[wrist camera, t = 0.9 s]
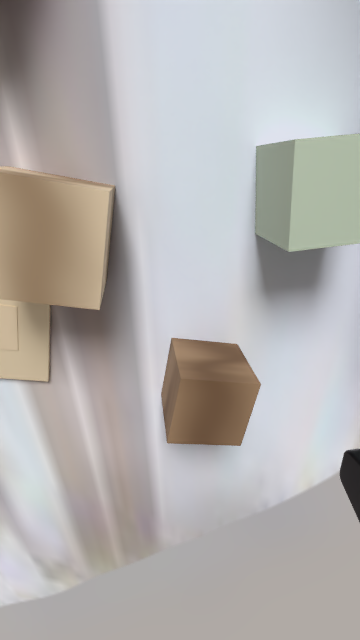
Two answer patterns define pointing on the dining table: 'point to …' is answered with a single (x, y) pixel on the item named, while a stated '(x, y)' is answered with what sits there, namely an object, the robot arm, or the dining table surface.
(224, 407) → the walnut block
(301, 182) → the block
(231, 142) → the dining table surface
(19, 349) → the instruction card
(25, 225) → the oak block
